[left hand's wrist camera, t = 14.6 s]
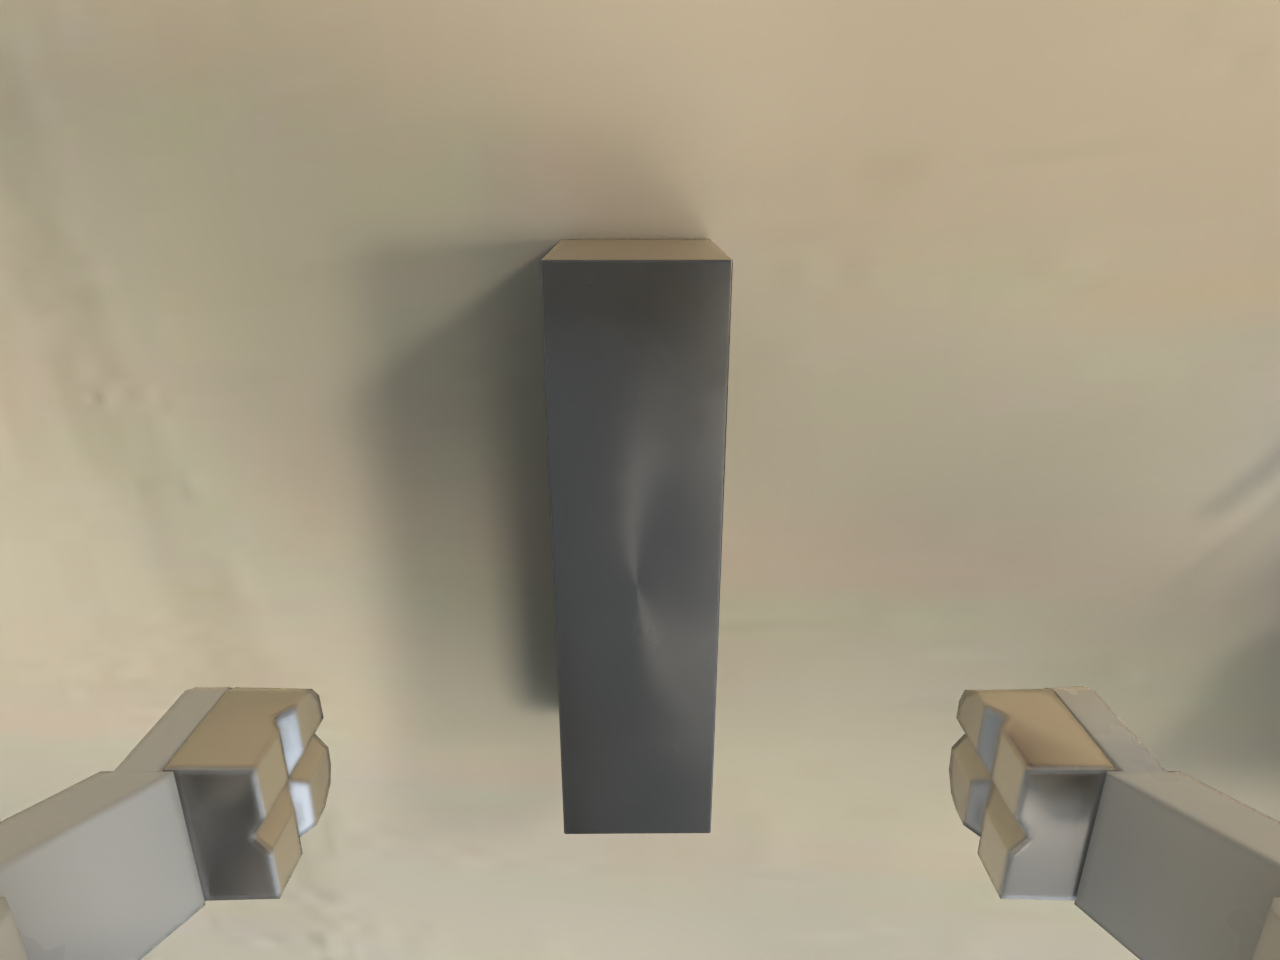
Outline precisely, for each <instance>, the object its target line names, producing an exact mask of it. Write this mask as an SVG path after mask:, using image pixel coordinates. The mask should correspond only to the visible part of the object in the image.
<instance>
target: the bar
mask: <svg viewBox="0 0 1280 960" xmlns="http://www.w3.org/2000/svg"><path fill="white" fill-rule="evenodd" d="M540 266H541V289H542V313H543V337H544V361H545V385H546V409H547V433H548V457H549V481H550V504H551V528H552V552H553V576H554V600H555V624H556V648H557V672H558V696H559V719H560V743H561V767H562V791H563V815H564V833H565V834H609V833H710V832H711V810H712V784H713V758H714V732H715V706H716V681H717V655H718V629H719V603H720V577H721V552H722V526H723V500H724V474H725V448H726V423H727V397H728V371H729V345H730V319H731V294H732V268H733V261H732V259H730V258H729V257H728V256H727V255H726V254H725V253H724V252H723V251H722V250H721V249H720V248H719V247H718V246H717V245H715V244H714V243H713V242H712V241H711V240H710V239H562V240H560V241H559V242H558V243H557V244H556V245H555V247H554V248H553V249H552V250H551V251H550V252H549V253H548V254H547V255H546V256H545V257H544V258H543V259H542V260H541V261H540Z"/></svg>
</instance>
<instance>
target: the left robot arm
mask: <svg viewBox="0 0 1280 960" xmlns="http://www.w3.org/2000/svg"><path fill="white" fill-rule="evenodd" d="M322 719H323V713H322V708H321V703H320V698H319V695H318V694H317V693H316V692H315V691H314V690H312V689H288V688H241V687H236V688H230V687H196V688H193V689H189V690H186V691H185V692H184V693H183V694H182V695H181V696H180V697H179V699H178V700H177V701H176V702H175V703H174V704H173V705H172V706H171V708H170V709H169V710H168V711H167V712H166V713H165V714H164V715H163V717H162V718H161V719H160V720H159V721H158V722H157V723H156V724H155V726H154V727H153V728H152V729H151V730H150V731H149V732H148V733H147V735H146V736H145V737H144V738H143V739H142V740H141V741H140V742H139V744H138V745H137V746H136V747H135V748H134V749H133V750H132V751H131V753H130V754H129V755H128V756H127V757H126V758H125V759H124V761H123V762H122V763H121V764H120V765H119V766H118V767H117V768H116V770H115V771H101V772H99V773H97V774H95V775H93V776H91V777H89V778H87V779H85V780H83V781H81V782H79V783H77V784H75V785H73V786H71V787H69V788H67V789H65V790H63V791H61V792H59V793H57V794H55V795H53V796H51V797H49V798H47V799H45V800H43V801H41V802H39V803H37V804H35V805H33V806H31V807H29V808H27V809H25V810H23V811H21V812H19V813H17V814H15V815H13V816H11V817H9V818H7V819H5V820H4V821H2V822H0V960H140V959H141V958H143V957H144V956H145V955H146V954H147V953H149V952H150V951H151V950H152V949H153V948H154V947H156V946H157V945H158V944H159V943H160V942H162V941H163V940H164V939H165V938H166V937H168V936H169V935H170V934H171V933H172V932H173V931H175V930H176V929H177V928H178V927H179V926H181V925H182V924H183V923H184V922H185V921H186V920H188V919H189V918H190V917H191V916H192V915H194V914H195V913H196V912H197V911H198V910H200V909H201V908H202V907H203V906H204V905H205V901H209V900H243V899H278V898H280V897H281V895H282V893H283V891H284V889H285V887H286V885H287V883H288V881H289V879H290V877H291V875H292V873H293V871H294V869H295V867H296V865H297V863H298V861H299V859H300V857H301V855H302V848H301V842H300V836H302V835H303V834H304V833H306V832H307V831H309V830H310V829H311V828H313V827H314V826H316V825H317V823H318V821H319V819H320V816H321V814H322V812H323V810H324V808H325V805H326V800H327V796H328V791H329V787H330V774H331V763H330V756H329V749H328V747H327V746H326V745H325V744H324V743H323V741H322V740H321V739H320V738H319V737H318V736H317V735H316V734H315V732H316V730H317V728H318V727H319V725H320V723H321V721H322ZM957 719H958V721H959V723H960V725H961V727H962V728H963V730H964V732H965V734H964V735H963V736H962V737H961V738H960V739H959V740H958V741H957V742H956V744H955V745H954V746H953V747H952V749H951V758H950V766H949V775H950V786H951V794H952V797H953V801H954V804H955V808H956V810H957V812H958V814H959V817H960V819H961V821H962V823H963V825H964V826H966V827H967V828H969V829H970V830H971V831H973V832H974V833H976V834H977V835H978V836H980V842H979V848H978V855H979V857H980V859H981V861H982V863H983V865H984V867H985V869H986V871H987V873H988V875H989V877H990V879H991V881H992V883H993V885H994V887H995V889H996V891H997V893H998V895H999V897H1000V899H1035V900H1071V901H1075V905H1076V906H1077V907H1079V908H1080V909H1081V910H1082V911H1083V912H1084V913H1086V914H1087V915H1088V916H1089V917H1090V918H1092V919H1093V920H1094V921H1095V922H1096V923H1097V924H1099V925H1100V926H1101V927H1102V928H1103V929H1105V930H1106V931H1107V932H1108V933H1109V934H1110V935H1112V936H1113V937H1114V938H1115V939H1116V940H1118V941H1119V942H1120V943H1121V944H1122V945H1123V946H1125V947H1126V948H1127V949H1128V950H1129V951H1131V952H1132V953H1133V954H1134V955H1135V956H1136V957H1138V958H1139V959H1140V960H1280V822H1278V821H1276V820H1274V819H1272V818H1270V817H1268V816H1266V815H1264V814H1262V813H1260V812H1258V811H1256V810H1254V809H1252V808H1251V807H1249V806H1247V805H1245V804H1243V803H1241V802H1239V801H1237V800H1235V799H1233V798H1231V797H1229V796H1227V795H1225V794H1223V793H1221V792H1219V791H1217V790H1215V789H1213V788H1211V787H1209V786H1207V785H1205V784H1203V783H1201V782H1199V781H1197V780H1195V779H1193V778H1191V777H1189V776H1187V775H1185V774H1183V773H1181V772H1179V771H1165V770H1164V768H1163V767H1162V766H1161V765H1160V764H1159V763H1158V762H1157V761H1156V759H1155V758H1154V757H1153V756H1152V755H1151V754H1150V753H1149V752H1148V750H1147V749H1146V748H1145V747H1144V746H1143V745H1142V744H1141V743H1140V741H1139V740H1138V739H1137V738H1136V737H1135V736H1134V735H1133V733H1132V732H1131V731H1130V730H1129V729H1128V728H1127V727H1126V726H1125V724H1124V723H1123V722H1122V721H1121V720H1120V719H1119V718H1118V717H1117V715H1116V714H1115V713H1114V712H1113V711H1112V710H1111V709H1110V708H1109V706H1108V705H1107V704H1106V703H1105V702H1104V701H1103V700H1102V699H1101V697H1100V696H1099V695H1098V694H1097V693H1096V692H1095V691H1093V690H1091V689H1089V688H1087V687H1060V688H1045V689H1002V690H965V691H964V693H963V695H962V697H961V699H960V701H959V707H958V712H957Z"/></svg>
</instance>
